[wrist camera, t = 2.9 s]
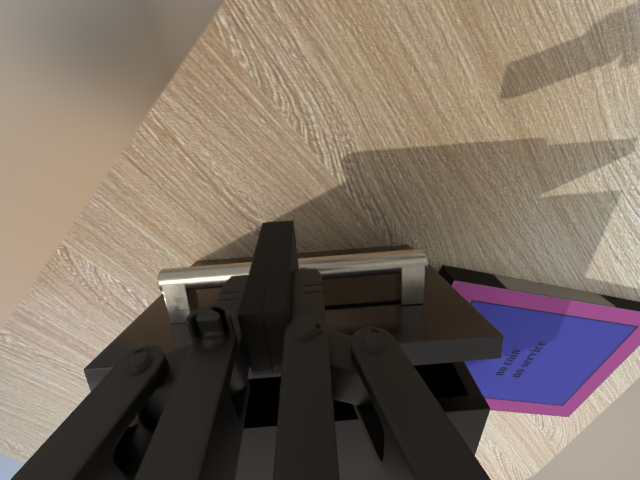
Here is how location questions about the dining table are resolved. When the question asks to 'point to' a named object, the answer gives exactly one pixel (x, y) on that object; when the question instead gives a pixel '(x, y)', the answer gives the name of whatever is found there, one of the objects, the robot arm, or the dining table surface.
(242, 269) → the oven door
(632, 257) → the dining table surface
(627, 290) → the dining table surface
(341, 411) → the oven
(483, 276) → the book
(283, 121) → the dining table surface
